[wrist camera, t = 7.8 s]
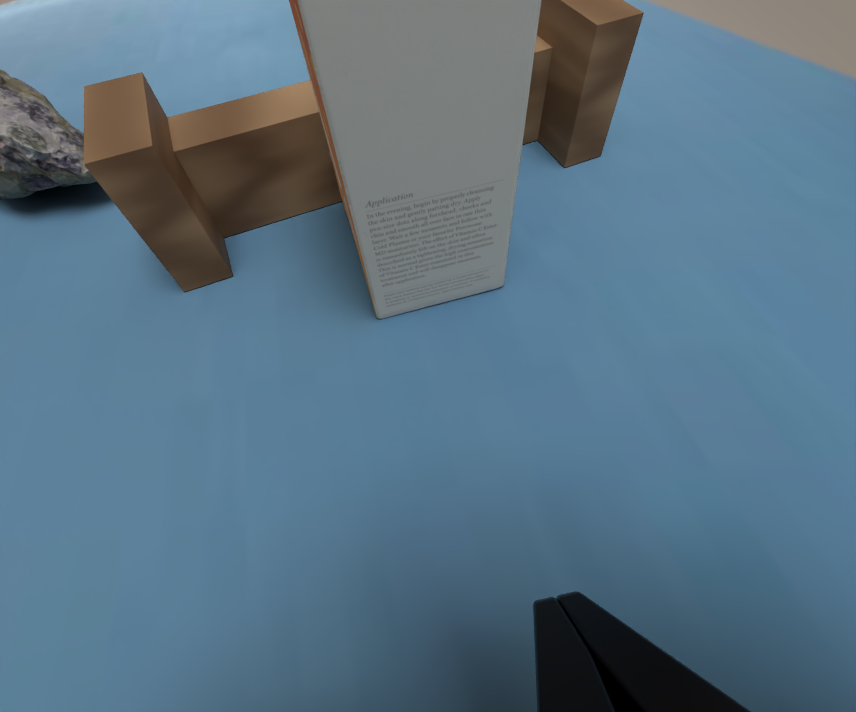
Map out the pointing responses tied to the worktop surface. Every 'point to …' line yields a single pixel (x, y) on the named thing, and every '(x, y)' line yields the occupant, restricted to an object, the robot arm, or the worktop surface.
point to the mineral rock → (36, 143)
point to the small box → (423, 135)
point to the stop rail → (314, 141)
